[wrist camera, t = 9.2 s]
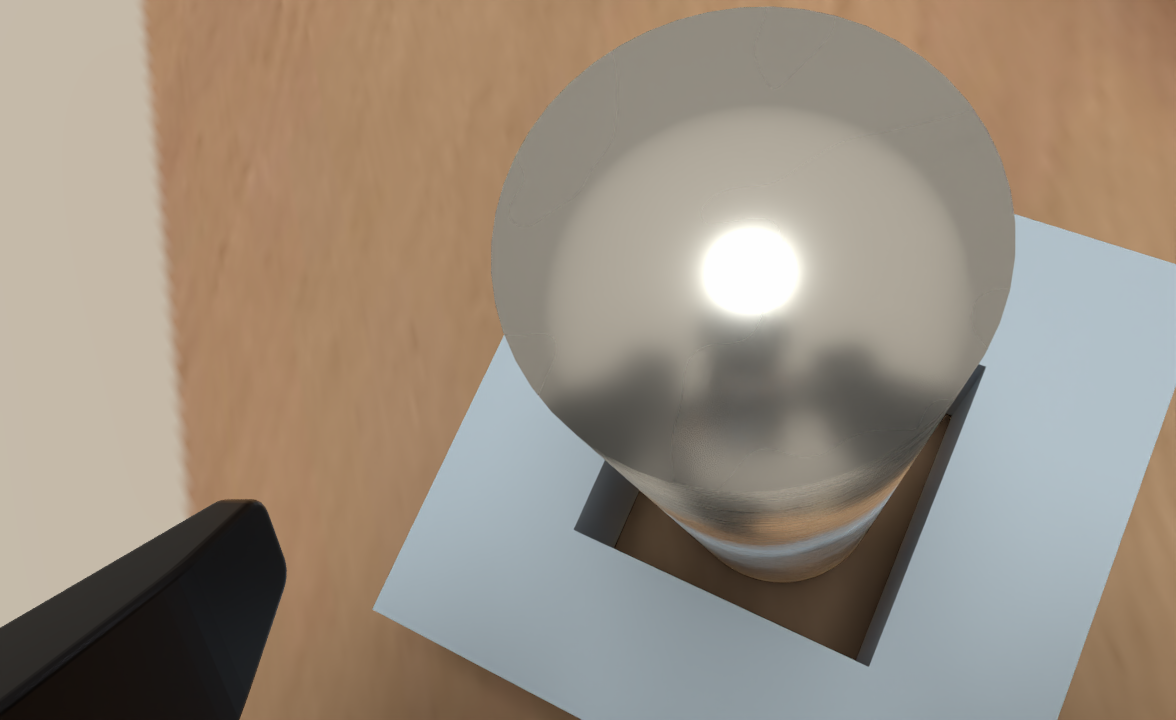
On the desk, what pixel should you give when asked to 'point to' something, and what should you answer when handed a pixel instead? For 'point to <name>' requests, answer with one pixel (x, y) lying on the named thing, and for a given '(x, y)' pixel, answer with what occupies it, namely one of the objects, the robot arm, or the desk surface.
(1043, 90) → the desk surface
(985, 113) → the desk surface
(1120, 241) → the desk surface
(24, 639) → the robot arm
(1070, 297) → the bracket block
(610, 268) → the silver tall cylinder
